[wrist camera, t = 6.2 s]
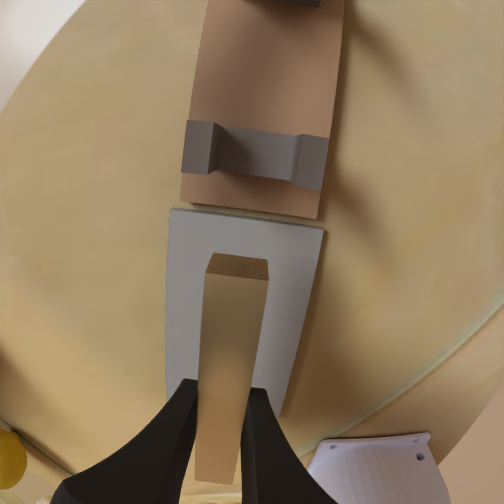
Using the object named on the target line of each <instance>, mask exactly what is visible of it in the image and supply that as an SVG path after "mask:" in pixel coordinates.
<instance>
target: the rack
mask: <svg viewBox="0 0 504 504" xmlns="http://www.w3.org/2000/svg"><path fill="white" fill-rule="evenodd" d="M344 6H345V0H209V1H208V6H207V11H206V16H205V21H204V26H203V31H202V36H201V42H200V48H199V53H198V59H197V65H196V71H195V78H194V84H193V91H192V98H191V105H190V112H189V120H187V125H186V133H185V142H184V150H183V159H182V169H181V173H182V182H181V193H180V201H182V202H191V203H200V204H208V205H217V206H225V207H233V208H241V209H248V210H256V211H263V212H271V213H278V214H285V215H292V216H299V217H306V218H312V219H316V218H317V213H318V207H319V201H320V195H321V190H322V184H323V178H324V171H325V165H326V159H327V152H328V145H329V139H330V132H331V125H332V117H333V110H334V102H335V94H336V86H337V78H338V69H339V60H340V50H341V40H342V30H343V19H344Z"/></svg>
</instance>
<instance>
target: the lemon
mask: <svg viewBox="0 0 504 504" xmlns="http://www.w3.org/2000/svg"><path fill="white" fill-rule="evenodd" d="M26 466H27V455H26V451H25V449H24V447H23V445H22V443H21V442H20V439H19V435H18V434H17V433H15V432H8V431H6V430H2V429H0V489H9V488H11V487H13V486H14V485H16V484H17V483H18V482H19V481H20V479H21V478H22V476H23V474H24V472H25V470H26Z"/></svg>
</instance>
